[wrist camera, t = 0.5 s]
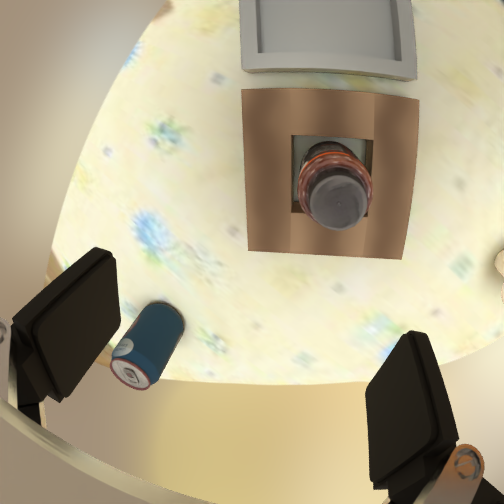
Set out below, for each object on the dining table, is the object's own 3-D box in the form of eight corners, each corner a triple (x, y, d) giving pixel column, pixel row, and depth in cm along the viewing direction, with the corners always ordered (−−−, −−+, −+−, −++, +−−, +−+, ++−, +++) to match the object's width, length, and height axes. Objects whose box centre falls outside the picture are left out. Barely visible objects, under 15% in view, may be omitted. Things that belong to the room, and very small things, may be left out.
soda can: (140, 296, 42) (98, 350, 32) (182, 302, 41) (145, 363, 31) (150, 331, 45) (115, 385, 35) (189, 338, 44) (159, 398, 34)
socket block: (407, 100, 24) (419, 99, 21) (394, 244, 31) (401, 259, 28) (249, 91, 27) (241, 89, 24) (254, 236, 34) (248, 250, 31)
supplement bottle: (288, 162, 30) (275, 192, 20) (335, 128, 27) (348, 141, 17) (323, 207, 31) (327, 258, 21) (369, 176, 29) (396, 214, 19)
